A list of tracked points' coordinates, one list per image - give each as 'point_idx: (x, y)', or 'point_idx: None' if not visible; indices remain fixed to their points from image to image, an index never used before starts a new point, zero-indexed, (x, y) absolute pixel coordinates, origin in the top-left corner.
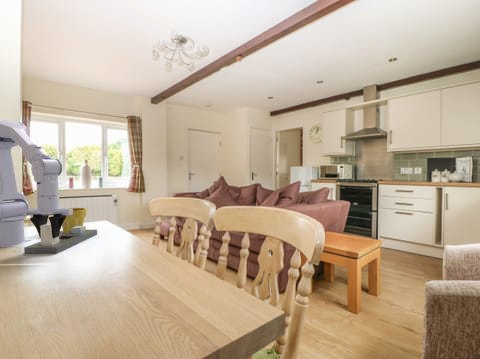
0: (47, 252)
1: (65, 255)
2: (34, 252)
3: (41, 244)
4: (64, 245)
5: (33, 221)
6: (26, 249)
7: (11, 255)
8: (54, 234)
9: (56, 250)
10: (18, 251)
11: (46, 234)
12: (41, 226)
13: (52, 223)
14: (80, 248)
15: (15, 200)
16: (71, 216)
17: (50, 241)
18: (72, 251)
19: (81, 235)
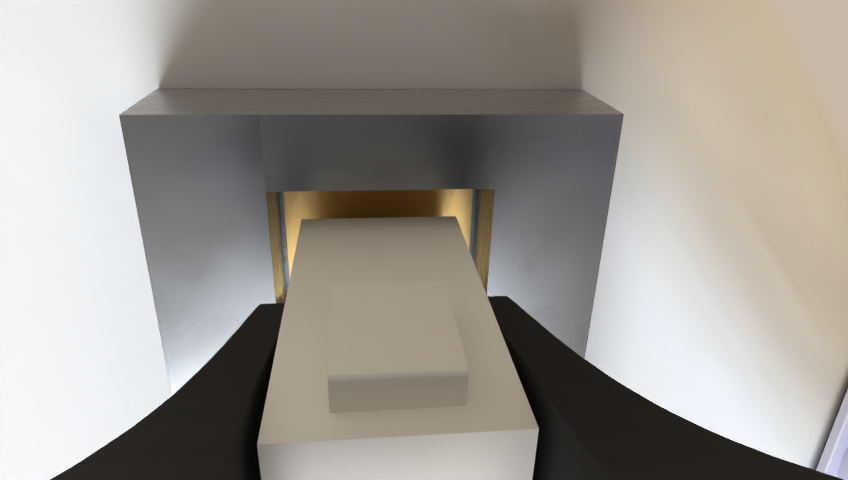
0: (282, 97)
1: (26, 77)
2: (462, 97)
3: (454, 234)
4: (157, 272)
5: (729, 465)
6: (581, 106)
7: (742, 103)
8: (237, 330)
9: (139, 101)
10: (744, 245)
11: (354, 289)
12: (506, 420)
13: (158, 462)
14: (75, 348)
15: None
16: None
17: (315, 255)
18: (77, 239)
19: None
